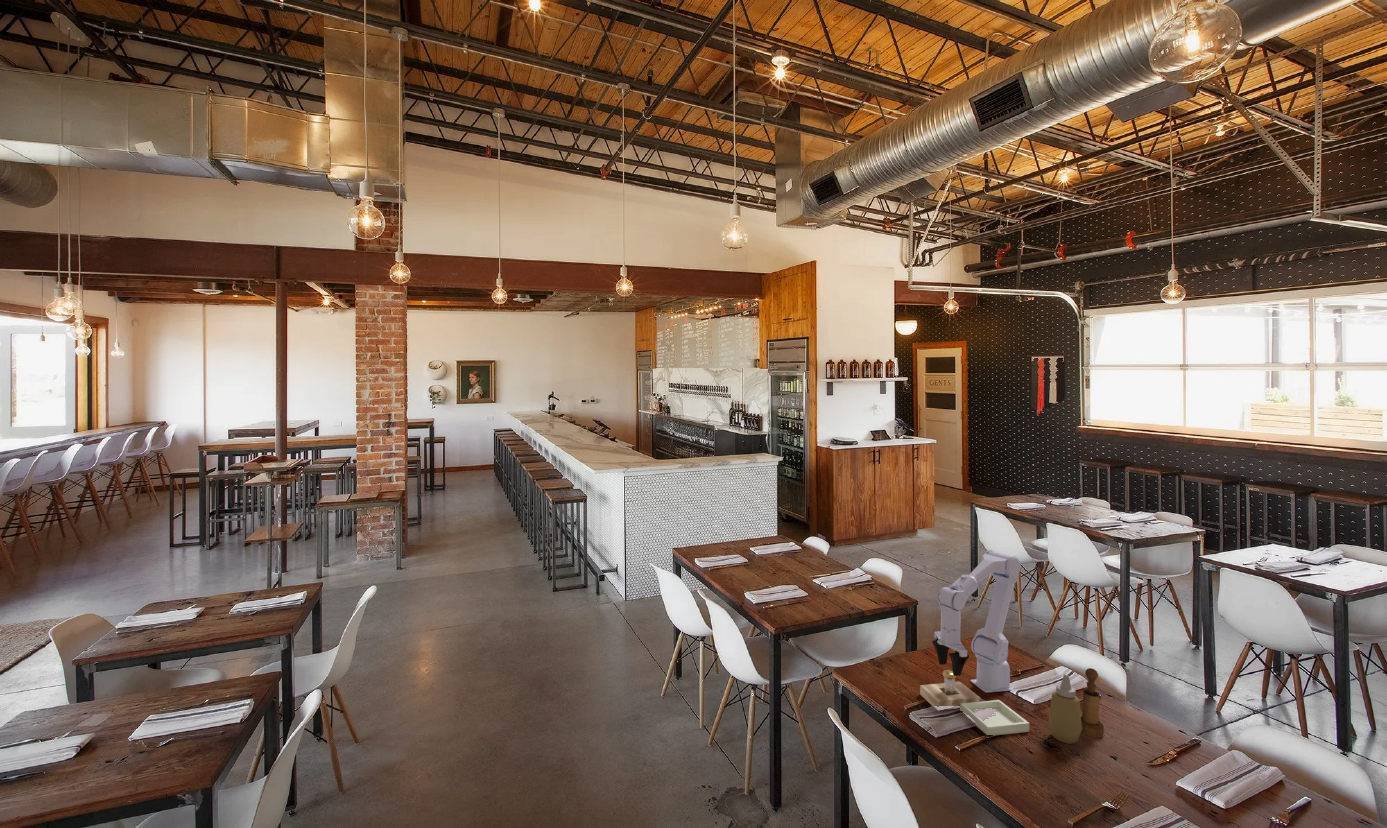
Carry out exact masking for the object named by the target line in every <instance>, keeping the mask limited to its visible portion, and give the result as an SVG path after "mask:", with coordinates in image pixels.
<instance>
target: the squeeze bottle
mask: <svg viewBox="0 0 1387 828" xmlns="http://www.w3.org/2000/svg"><path fill="white" fill-rule="evenodd" d="M1076 691H1077V690H1076V688H1074V687H1073V686H1072V685H1071V681H1070V676H1069V674H1066V673H1065V674H1063V677H1062V680H1061V683H1059V684H1057V685H1055V691H1054V692H1052V694H1051V701H1050V707H1049V715H1048V720H1047V723H1048V725H1049V729H1050V732H1051V735H1052V736H1053V738H1054V739H1056V740H1057V741H1059V742H1061V743H1065V744H1070V745H1071V744H1075V743H1077V741H1078V740H1079V738H1080V735H1081V734H1082V732H1081V731H1082V724H1081V716H1082V713H1081V703H1080V702H1081V701H1080V699H1079V697H1077V695H1076V693H1077V692H1076Z"/></svg>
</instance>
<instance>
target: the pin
mask: <svg viewBox="0 0 1387 828" xmlns="http://www.w3.org/2000/svg"><path fill="white" fill-rule="evenodd" d="M942 676H943V677H944V678H943V679H944V680H943V683H944V693H945V694H946V695H955V682H956V680H955V679H956V678H957V677H958V676H954V675H953V670H952V669H951V670H950V669H946V670H945V669H944V670H943V671H942Z"/></svg>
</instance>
